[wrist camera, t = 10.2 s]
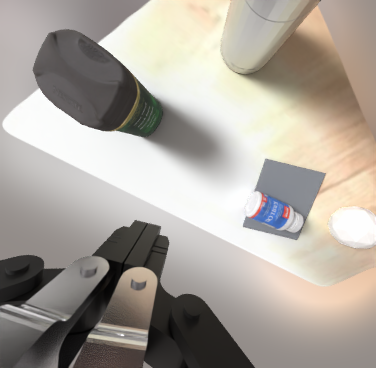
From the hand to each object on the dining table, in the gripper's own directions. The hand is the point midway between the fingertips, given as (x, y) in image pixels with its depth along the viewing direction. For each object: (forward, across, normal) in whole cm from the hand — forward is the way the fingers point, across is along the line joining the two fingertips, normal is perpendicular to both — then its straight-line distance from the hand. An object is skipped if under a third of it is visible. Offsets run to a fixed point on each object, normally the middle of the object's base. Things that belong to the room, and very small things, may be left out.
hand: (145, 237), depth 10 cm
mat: (+27, -22, +2) cm, 35 cm away
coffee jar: (+27, +11, -9) cm, 31 cm away
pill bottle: (+24, -14, +3) cm, 28 cm away
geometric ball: (+27, -34, +2) cm, 44 cm away
